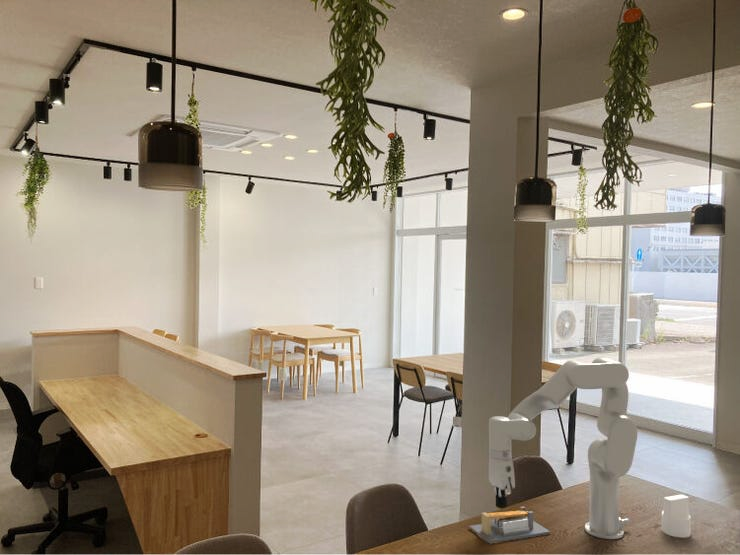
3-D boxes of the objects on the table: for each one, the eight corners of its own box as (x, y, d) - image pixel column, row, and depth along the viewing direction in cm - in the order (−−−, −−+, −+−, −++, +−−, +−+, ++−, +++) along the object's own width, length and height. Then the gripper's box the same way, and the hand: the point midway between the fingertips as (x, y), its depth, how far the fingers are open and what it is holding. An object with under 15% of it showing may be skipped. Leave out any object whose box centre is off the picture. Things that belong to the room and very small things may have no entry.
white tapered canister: (674, 525, 212) (675, 491, 212) (696, 535, 204) (697, 500, 204) (655, 528, 209) (655, 494, 209) (677, 539, 201) (677, 503, 201)
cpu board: (527, 519, 216) (527, 500, 216) (550, 534, 203) (550, 513, 203) (469, 528, 207) (469, 508, 207) (489, 544, 195) (489, 523, 195)
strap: (525, 513, 209) (525, 509, 209) (530, 516, 207) (530, 512, 207) (486, 516, 204) (487, 512, 204) (491, 519, 201) (491, 515, 201)
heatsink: (514, 521, 211) (514, 510, 211) (529, 531, 203) (529, 520, 203) (489, 525, 208) (489, 513, 208) (504, 535, 199) (504, 523, 200)
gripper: (522, 458, 198) (523, 513, 198) (497, 446, 212) (498, 498, 212) (502, 460, 196) (503, 516, 196) (479, 448, 210) (480, 500, 210)
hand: (501, 506), depth 204 cm, fingers closed
